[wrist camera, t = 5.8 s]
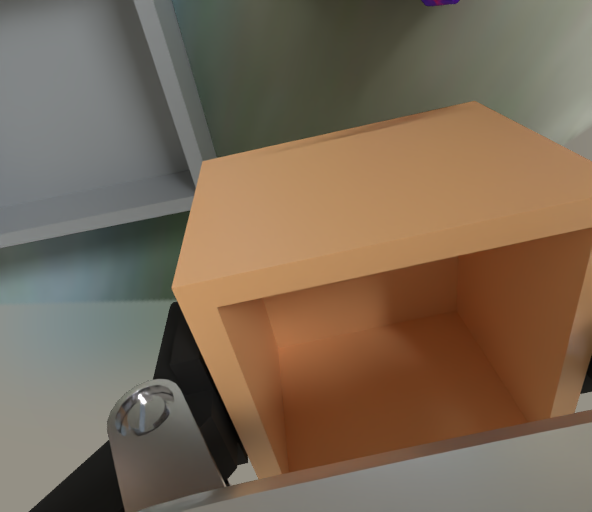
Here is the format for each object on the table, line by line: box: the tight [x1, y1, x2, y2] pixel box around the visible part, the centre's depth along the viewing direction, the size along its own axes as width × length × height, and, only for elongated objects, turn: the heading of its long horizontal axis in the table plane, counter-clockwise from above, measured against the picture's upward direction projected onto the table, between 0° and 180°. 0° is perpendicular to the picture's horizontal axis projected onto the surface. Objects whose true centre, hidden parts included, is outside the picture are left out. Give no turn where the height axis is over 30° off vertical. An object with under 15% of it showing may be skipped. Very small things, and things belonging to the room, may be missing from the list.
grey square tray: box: [0, 0, 217, 248], centre depth 22 cm, size 15×15×5 cm
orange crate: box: [172, 101, 592, 479], centre depth 10 cm, size 7×7×5 cm
